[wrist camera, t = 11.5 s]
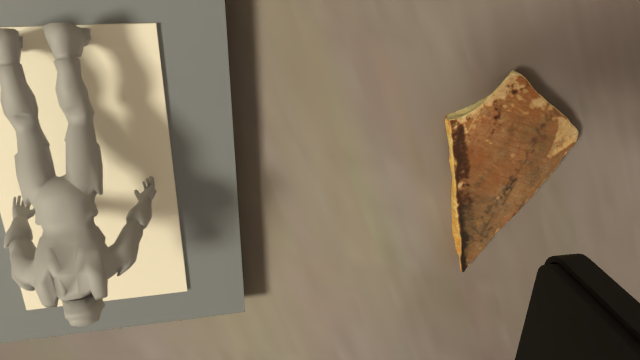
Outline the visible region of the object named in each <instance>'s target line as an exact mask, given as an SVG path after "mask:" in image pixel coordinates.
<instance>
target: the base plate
mask: <svg viewBox="0 0 640 360" xmlns="http://www.w3.org/2000/svg"><path fill="white" fill-rule="evenodd" d="M59 22H66V23H71V24H75V25H76V26H78V27H81V28H89V29H91V31H90V36H91V39H90V41H89V43H88V45H87V46H85V47H83V52H82V55H81V57H77V58H79V60H80V62H81V77H82V79H83V82H84V84H85V86H86V88H87V90H88V96H89V100H90V102H91V105H92V107H93V109H94V111H95V114H94V117H93V122H94V129H95V135H96V141H97V143H98V144H99V145H100V150H101V157H102V164H103V194H102V195H99V194H98V193H97V195H96V197H95V201H94V202H95V204H96V207H97V210H98V214H97V216H95V217H94V223H95V225H96V226H98V227H99V228H100V230H101V231H102V233H103V234H104V236H105V237H106V238H105V243H106V245H107V246H108V247H109V246H111V245H112V244H114V242H115V241H116V239H117V237H118V235H119V234H120V232H121V230H122V228H123V227H124V226H125V225H126V224H127V223H126V217H127V214H128V212H129V210H130V209H132V208H133V207H134V206H135V205H136V204H137V203H138V199H137V198H136V196H135V194H134V190H138V191H139V193H142V192H143V191H144V187H143V184H142V182H143V181H144V182H145V184H146V186H147V181H146V178H148V179H149V181H150V178H149V177H150V176H151V177H153V178H154V183H155V189H156V194H155V196H154V198H153V199H152V203H151V205H152V218H151V220H150V222H149V224H148V226H147V227H146V228H145V229H144V230H143V236H142V238H141V240H140V243H139V249H138V254H137V259H136V262H135V263H134V264H133V265H132V266H131V267H130V268H129V269H128V270H127V271H126V272H124V273H123V274H122V275H120V276H117V273H116V274H115V275H113V276H112V277H111V278H109V279H108V296H107V297H105V298H103V301H104V302H105V307H104V308H103V309H102V311H101V316H100V319H99V320H98V321H96V322H94V323H93V324H91V325H87V326H81V327H78V326H71V325H70V323H69V321H68V320H67V319H66V318H65V315H64V309H63V304H62V300H60V299H59V300H58V305H57V307H50V308H46V307H45V306H43V305H42V304H41V301H40V299H39V297H38V295H37V292H36V290H34V291H26V290H25V289H23V288H21V287H20V286H19V285H18V284H17V283H16V282H15V281H14V280H13V278H12V276H11V261H10V251H9V248H6V249H5V248H4V238H5V235H6V232H7V231H8V229H9V227H10V226H11V223H12V221H13V215H12V207H13V198H14V197H16V205H17V198H18V195H20V196H21V200H20V205H21V203H22V200H23V198H22V195H21V191H20V187H19V184H18V180H17V176H16V167H15V157H14V156H15V155H16V153H17V152H18V149H17V138H16V131H15V129H14V128H13V126H12V125H11V123H10V122H9V120H8V119H7V118H6V116H5V115H4V112H3V109H2V105H1V102H0V343H6V342H14V341H22V340H29V339H37V338H45V337H53V336H61V335H68V334H76V333H84V332H92V331H100V330H107V329H115V328H123V327H131V326H139V325H146V324H154V323H162V322H170V321H178V320H185V319H193V318H201V317H209V316H217V315H224V314H232V313H240V312H245V303H244V288H243V272H242V257H241V242H240V226H239V211H238V196H237V181H236V165H235V150H234V135H233V119H232V104H231V89H230V73H229V58H228V43H227V28H226V12H225V0H0V28H10V29H16V30H17V31H19V36H23V48H22V49H21V57H20V64H22V67H23V71H24V74H25V78H26V82H27V84H28V85H29V87H30V89H31V90H32V92H33V93H34V95H35V98H36V102H37V105H38V119H39V123H40V127H41V129H42V131H43V133H44V135H45V136H46V138H47V140H48V142H49V144H50V146H49V148H50V152H51V156H52V159H53V164H54V169H55V174H56V176H58V177H61V176H63V175H65V174H66V142H65V141H64V139H65V135H66V131H67V128H68V121H67V119H66V116H65V114H64V113H63V111H62V109H61V108H60V106H59V102H58V98H57V94H56V90H55V87H56V79H57V69H56V67H55V64H54V61H55V58H54V54H53V52H52V50H51V48H50V46H49V44H48V42H47V39H46V37H45V33H44V30H43V27H42V26H43V25H46V24H49V23H59ZM0 92H1V86H0ZM25 207H26V205H25ZM33 208H34V207H33V205H32V204H31V205H30V210H31V209H33ZM28 223H29V225H30V227H31V230H32V234H33V239H32V242H33V243H34V245H35V246H36V248H37V245H38V242H39V239H40V237H41V236H42V233H43V229H42V227H41V225H37V224H36V223H35V215H34V216H33V217H31V218H29V219H28Z"/></svg>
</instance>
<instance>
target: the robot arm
mask: <svg viewBox="0 0 640 360" xmlns="http://www.w3.org/2000/svg"><path fill="white" fill-rule="evenodd" d="M515 360H640V303H639V302H638V301H637V300H635V299H634V298H633V297H632V296H631V295H630V294H629V293H627V292H626V291H625V290H624V289H623V288H622V287H621V286H620V285H618V284H617V283H616V282H615V281H614V280H613V279H612V278H611V277H609V276H608V275H607V274H606V273H605V272H604V271H603V270H602V269H600V268H599V267H598V266H597V265H596V264H595V263H594V262H592V261H591V260H590V259H589V258H588V257H586V256H585V255H583V254H570V255H559V256H552V257H549V258H548V259H547V260H546V262H545V264H544V265H542V266H541V267H540V268H539V269H538V272H537V276H536V280H535V283H534V287H533V291H532V295H531V299H530V303H529V307H528V311H527V315H526V319H525V323H524V326H523V330H522V334H521V338H520V342H519V346H518V350H517V354H516V358H515Z"/></svg>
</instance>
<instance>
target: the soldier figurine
mask: <svg viewBox="0 0 640 360" xmlns="http://www.w3.org/2000/svg"><path fill="white" fill-rule="evenodd" d="M42 27H43V30H44V33H45V37H46V39H47V42H48V44H49V46H50V48H51V50H52V52H53V54H54V58H55V61H54V64H55V67H56V69H57V79H56V87H55V90H56V94H57V98H58V102H59V106H60V108H61V109H62V111H63V113H64V114H65V116H66V119H67V121H68V128H67V131H66V135H65V139H64V141H65V142H66V174H65V175H63V176H61V177H58V176H56V174H55V169H54V164H53V159H52V156H51V152H50V148H49V146H50V144H49V142H48V140H47V138H46V136H45V135H44V133H43V131H42V129H41V127H40V123H39V119H38V105H37V102H36V98H35V95H34V93H33V92H32V90H31V89H30V87H29V85H28V84H27V82H26V78H25V74H24V71H23V67H22V64H20V57H21V49H22V48H23V36H19V31H17V30H16V29H10V28H0V86H1V92H0V102H1V105H2V109H3V112H4V115H5V116H6V118H7V119H8V120H9V122H10V123H11V125H12V126H13V128H14V129H15V131H16V138H17V149H18V152H17V153H16V155H15V156H14V157H15V167H16V176H17V180H18V184H19V187H20V191H21V195H22V198H23V200H22V203H21V205H20V200H21V196H20V195H18V198H17V205H16V197H14V198H13V207H12V215H13V221H12V223H11V226H10V227H9V229H8V231H7V232H6V235H5V238H4V248H5V249H6V248H9V251H10V261H11V276H12V278H13V280H14V281H15V282H16V283H17V284H18V285H19V286H20V287H21V288H23V289H25V290H26V291H34V290H36V292H37V295H38V297H39V299H40V301H41V304H42V305H43V306H45V307H46V308H50V307H57V305H58V300H59V299H60V300H62V304H63V309H64V315H65V318H66V319H67V320H68V321H69V323H70V325H71V326H78V327H81V326H87V325H91V324H93V323H94V322H96V321H98V320H99V319H100V316H101V311H102V309H103V308H104V307H105V302H104V301H103V298H105V297H107V296H108V279H109V278H111V277H112V276H113V275H115V274H116V273H117V276H120V275H122V274H123V273H124V272H126V271H127V270H128V269H129V268H130V267H131V266H132V265H133V264H134V263H135V262H136V259H137V254H138V249H139V243H140V240H141V238H142V236H143V230H144V229H145V228H146V227H147V226H148V224H149V222H150V220H151V218H152V205H151V203H152V199H153V198H154V196H155V194H156V189H155V183H154V178H153V177H151V176H150V177H149V178H150V181H149V179H148V178H146V181H147V186H146V184H145V182H144V181H143V182H142V184H143V187H144V191H143V192H142V193H139V191H138V190H134V194H135V196H136V198H137V199H138V203H137V204H136V205H135V206H134V207H133V208H132V209H130V210H129V212H128V214H127V217H126V223H127V224H126V225H125V226H124V227H123V228H122V230H121V232H120V234H119V235H118V237H117V239H116V241H115V242H114V244H112V245H111V246H109V247H108V246H107V245H106V243H105V238H106V237H105V236H104V234H103V233H102V231H101V230H100V228H99V227H98V226H96V225H95V223H94V217H95V216H97V214H98V210H97V207H96V204H95V202H94V201H95V197H96V195H97V193H98V194H99V195H102V194H103V164H102V157H101V150H100V145H99V144H98V143H97V141H96V135H95V129H94V122H93V117H94V114H95V111H94V109H93V107H92V105H91V102H90V100H89V96H88V90H87V88H86V86H85V84H84V82H83V79H82V77H81V62H80V60H79V58H77V57H81V55H82V52H83V47H85V46H87V45H88V43H89V41H90V39H91V36H90V31H91V29H89V28H81V27H78V26H76V25H75V24H71V23H66V22H59V23H49V24H46V25H43V26H42ZM31 204H32V205H33V207H34V208H33V209H31V210H30V205H31ZM25 205H26V207H25ZM34 215H35V223H36V224H37V225H41V227H42V229H43V233H42V236H41V237H40V239H39V242H38V245H37V248H36V246H35V245H34V243H33V242H32V239H33V234H32V230H31V227H30V225H29V223H28V219H29V218H31V217H33V216H34Z"/></svg>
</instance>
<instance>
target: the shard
mask: <svg viewBox="0 0 640 360" xmlns="http://www.w3.org/2000/svg"><path fill="white" fill-rule="evenodd" d="M445 127H446V131H447V137H448V143H449V152H450V157H449V163H450V167H451V172H452V188H451V189H452V196H451V198H452V230H453V237H454V239H455V244H456V246H455V247H456V250H457V253H458V255H459V262H460V269H461V272H464V271H465V269H466V268H467V266H468V265H469V264H470V262H471V261H472V260H473V259H474V258H475V257H476V256H477V255H478V254H479V253H480V252H481V251H482V249H483V248H484V247H485V246H486V244H487V242H488V241H489V239H491V238H492V237H493V236H494V235H495V234H496V233H497V232H498V230H499V229H501V227H503V226H504V225H505V224H506V222H507V221H509V220H510V219H511V218H512V217H513V216H514V215H515V214H516V213H517V212H518V211H519V210H520V208H521V207H522V206H523V205H524V203H525V202H526V201H527V200H528V199H530V198H531V197H532V196H533V195H534V193H535V192H536V191H537V190H538V189H539V187H540V186H541V184H542V183H543V182H544V181H545V180H546V179H547V178H548V177H549V176H550V175H551V173H552V172H553V171H554V170H555V168H556V167H557V166H558V165H559V163H560V161H561V159H562V158H563V156H564V155H565V154H566V153H567V152H568V151H569V149H570V148H571V147H572V146H573V145H574V144H575V142H576V140H577V137H578V133H579V132H578V130H577V129H576V127H575V126H574V125H572V123H570V121H569V119H568V118H567V117H566V116H565V115H563V114H562V113H561V112H560V111H559V110H558V109H557V108H555V107H554V106H553V105H551V104H550V103H549V102H548V101H547V100H545V99H544V98H543V97H542V96H541V95H540V94H539V93H537V92H536V91H535V90H534V89H533V87H532V86H531V84H530V83H529V81H528V80H527V79H526V78H525V77H524V76H523V75H522V74H520V73H517V72H515V71H514V70H512V71H511V72H510V74H509V75H508V76H507V77H506V78H505V79H504V81H503V82H502V83H501V84H500V85H499V86H498V87H497V88H496V89H495V90H494V91H493V93H492V94H491V95H489V96H488V97H486V98H485V99H482V100H480V101H479V102H477V103H476V104H473V105H471V106H468V107H466V108H463V109H461V110H458V111H456V112H454V113H451V114H449V115H447V116H446V117H445Z"/></svg>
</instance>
